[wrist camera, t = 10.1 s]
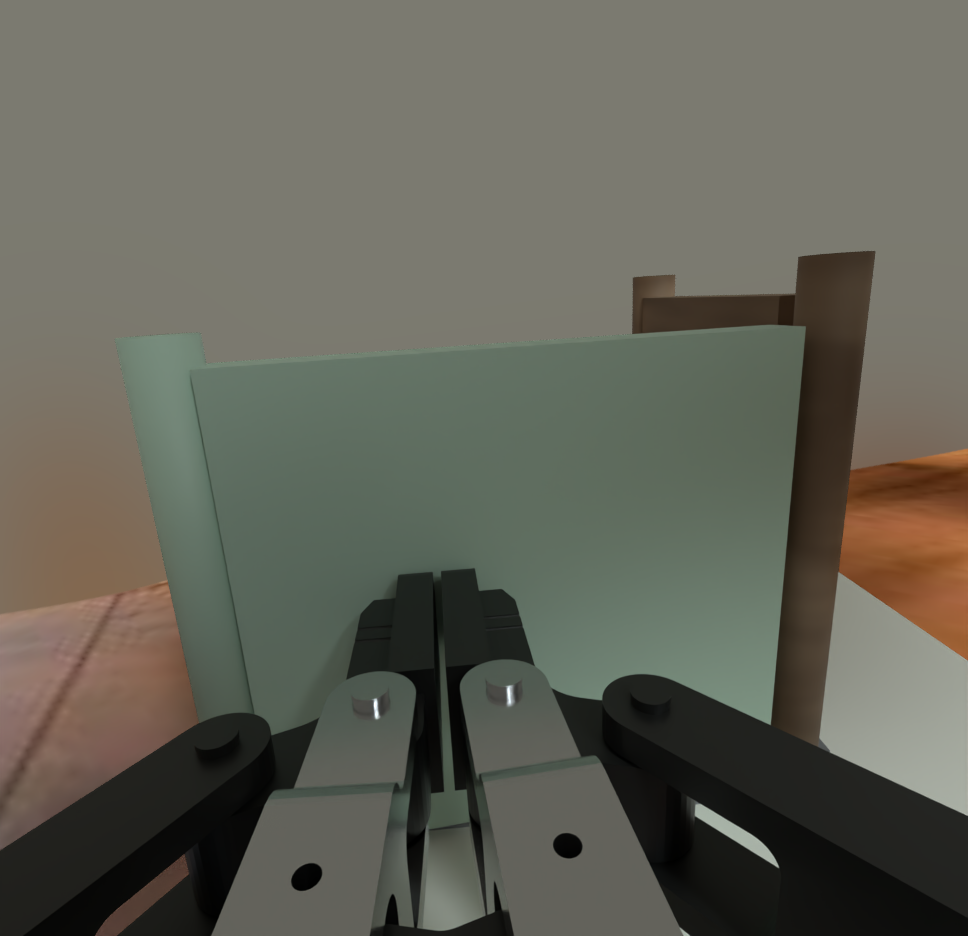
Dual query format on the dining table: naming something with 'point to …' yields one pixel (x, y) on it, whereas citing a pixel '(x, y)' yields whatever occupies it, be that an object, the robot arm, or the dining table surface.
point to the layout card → (844, 732)
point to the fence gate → (475, 507)
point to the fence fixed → (798, 447)
